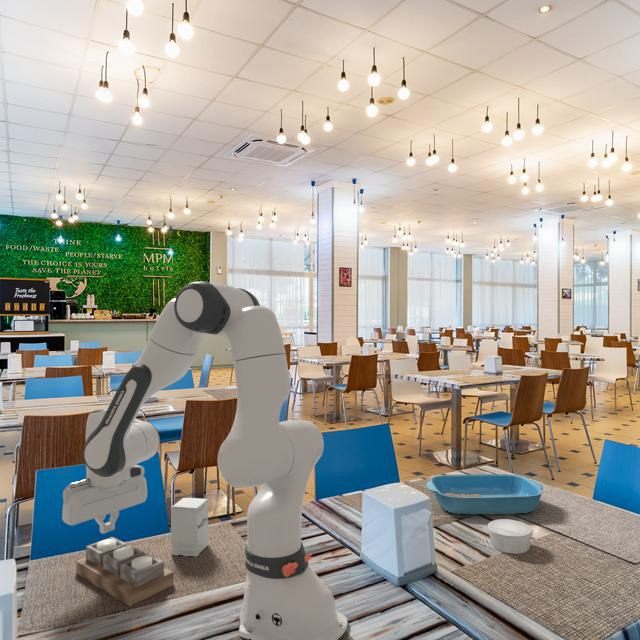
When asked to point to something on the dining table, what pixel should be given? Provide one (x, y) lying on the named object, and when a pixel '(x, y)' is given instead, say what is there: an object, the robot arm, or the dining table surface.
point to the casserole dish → (486, 493)
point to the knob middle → (123, 553)
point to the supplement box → (189, 526)
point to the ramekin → (510, 536)
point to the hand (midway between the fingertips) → (107, 531)
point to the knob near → (141, 562)
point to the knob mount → (123, 574)
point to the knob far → (106, 544)
